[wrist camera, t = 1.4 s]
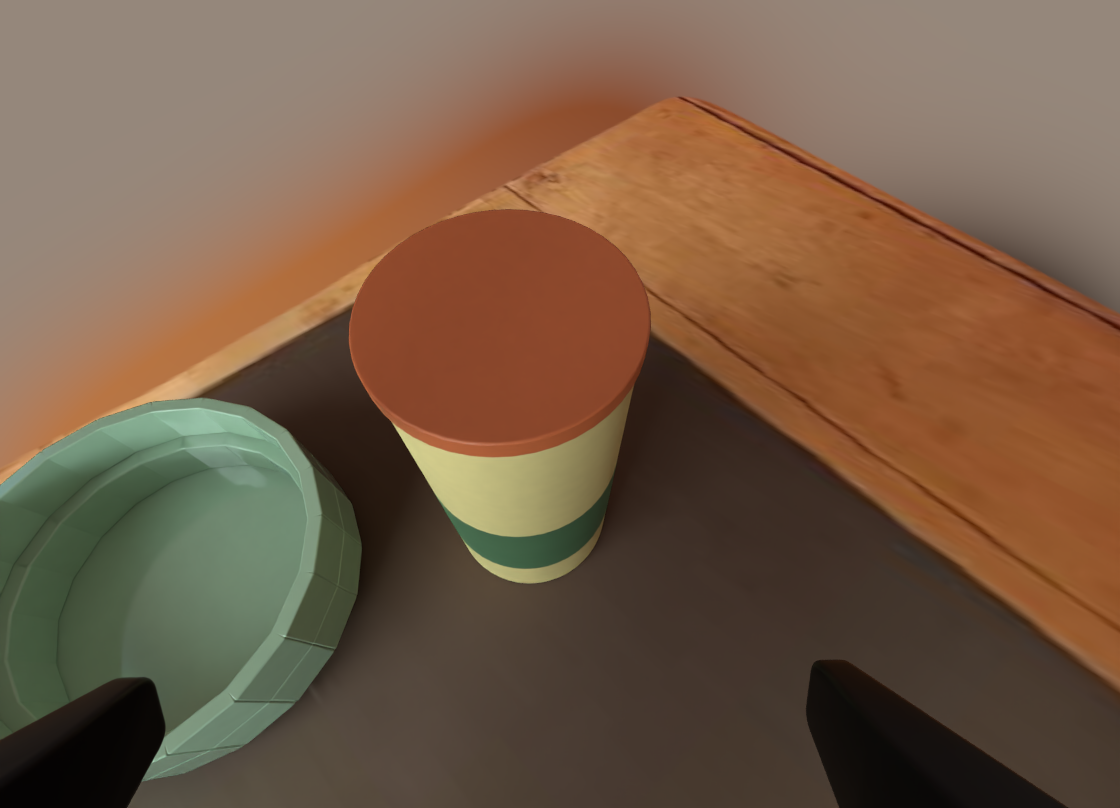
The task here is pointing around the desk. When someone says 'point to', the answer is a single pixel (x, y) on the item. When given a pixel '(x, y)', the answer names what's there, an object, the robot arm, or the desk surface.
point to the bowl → (174, 572)
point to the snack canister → (508, 377)
